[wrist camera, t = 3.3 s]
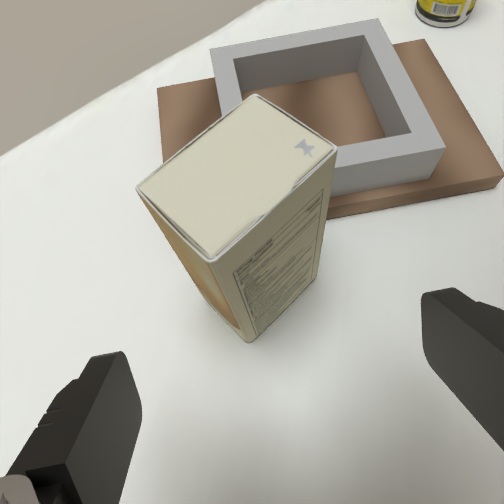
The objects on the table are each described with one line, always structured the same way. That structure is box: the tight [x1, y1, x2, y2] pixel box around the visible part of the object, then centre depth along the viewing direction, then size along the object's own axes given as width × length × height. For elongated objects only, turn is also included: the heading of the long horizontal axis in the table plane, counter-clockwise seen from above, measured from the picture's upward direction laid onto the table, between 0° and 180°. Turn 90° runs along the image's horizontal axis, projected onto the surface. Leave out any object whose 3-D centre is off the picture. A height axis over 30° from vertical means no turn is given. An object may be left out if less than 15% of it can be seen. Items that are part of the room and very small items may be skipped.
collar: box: [210, 18, 446, 197], centre depth 26 cm, size 12×12×3 cm
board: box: [157, 39, 504, 220], centre depth 28 cm, size 22×14×2 cm, turn 100°
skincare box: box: [135, 94, 338, 343], centre depth 19 cm, size 6×4×12 cm
